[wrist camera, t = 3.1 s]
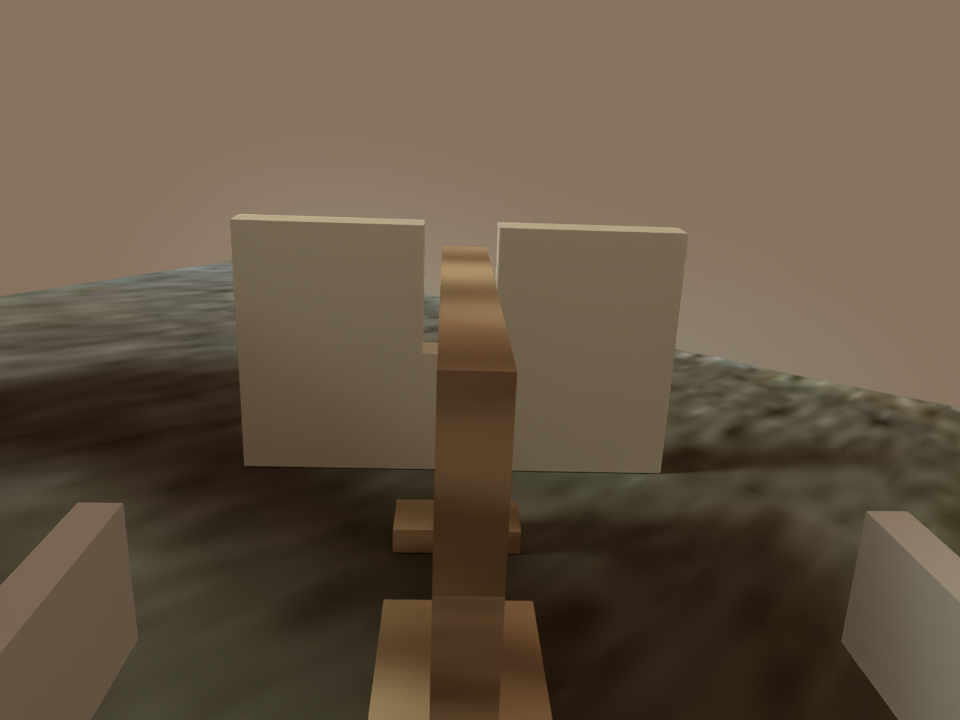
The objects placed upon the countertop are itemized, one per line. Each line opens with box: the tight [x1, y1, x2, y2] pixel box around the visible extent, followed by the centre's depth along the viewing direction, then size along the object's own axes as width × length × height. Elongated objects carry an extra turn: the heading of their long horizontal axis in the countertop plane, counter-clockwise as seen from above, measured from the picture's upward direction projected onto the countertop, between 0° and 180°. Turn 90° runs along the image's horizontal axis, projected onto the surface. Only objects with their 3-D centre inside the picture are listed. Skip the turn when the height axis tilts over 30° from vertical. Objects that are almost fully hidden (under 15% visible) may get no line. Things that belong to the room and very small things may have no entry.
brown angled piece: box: [368, 246, 552, 720], centre depth 31 cm, size 18×6×14 cm, turn 2°
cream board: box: [230, 214, 688, 473], centre depth 46 cm, size 24×2×14 cm, turn 92°
